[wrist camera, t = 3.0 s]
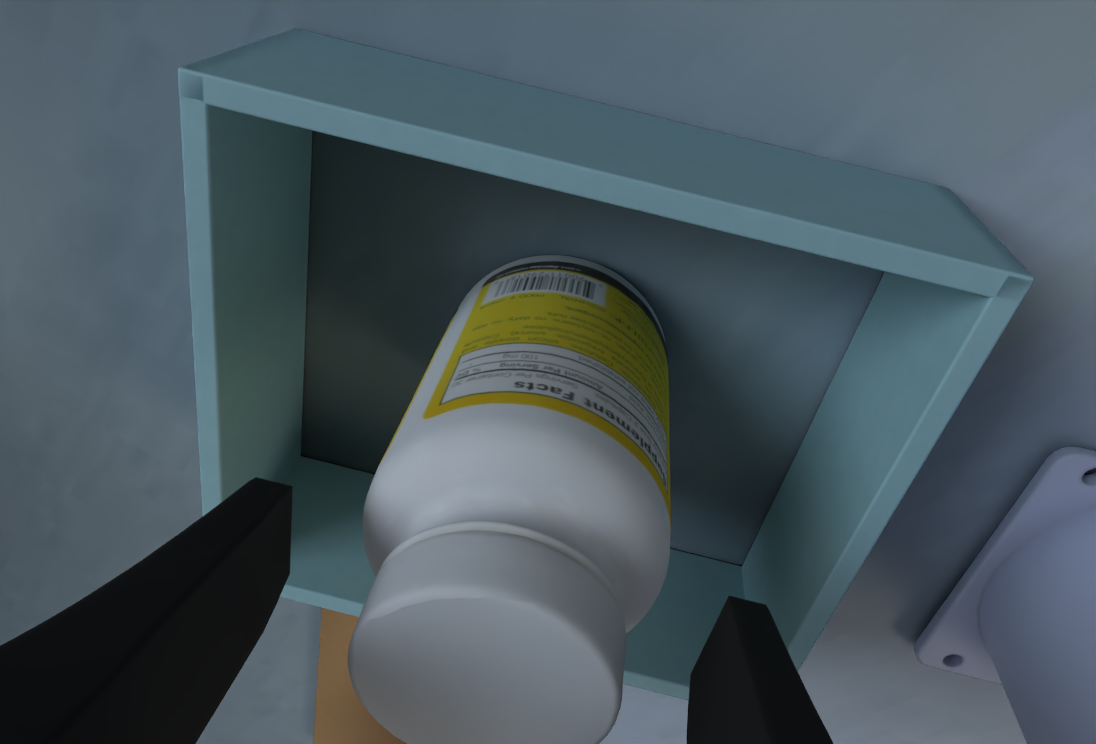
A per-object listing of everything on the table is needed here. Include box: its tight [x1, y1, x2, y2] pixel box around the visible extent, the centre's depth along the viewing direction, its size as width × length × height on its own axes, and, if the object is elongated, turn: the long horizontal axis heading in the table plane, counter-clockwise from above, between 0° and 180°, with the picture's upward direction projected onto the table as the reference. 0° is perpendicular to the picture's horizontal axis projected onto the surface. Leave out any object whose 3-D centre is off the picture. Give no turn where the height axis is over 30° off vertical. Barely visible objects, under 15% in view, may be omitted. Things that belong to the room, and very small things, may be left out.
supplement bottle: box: [348, 255, 671, 744], centre depth 15 cm, size 5×5×10 cm
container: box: [178, 28, 1034, 700], centre depth 17 cm, size 14×12×4 cm
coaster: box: [313, 608, 407, 744], centre depth 27 cm, size 9×9×1 cm
